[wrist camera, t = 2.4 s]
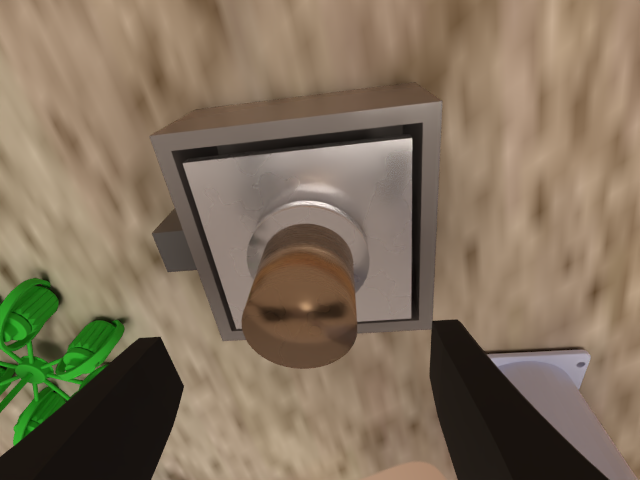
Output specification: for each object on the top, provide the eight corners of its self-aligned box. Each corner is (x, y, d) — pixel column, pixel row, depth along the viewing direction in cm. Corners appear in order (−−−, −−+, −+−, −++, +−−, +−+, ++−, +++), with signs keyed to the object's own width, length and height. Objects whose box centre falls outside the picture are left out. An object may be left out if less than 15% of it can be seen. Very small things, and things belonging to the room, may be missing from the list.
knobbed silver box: (412, 267, 21) (431, 329, 17) (220, 281, 22) (191, 342, 18) (414, 81, 16) (442, 101, 12) (165, 112, 17) (106, 140, 13)
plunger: (409, 310, 16) (433, 409, 12) (238, 321, 17) (206, 417, 13) (409, 134, 12) (446, 189, 8) (187, 158, 13) (116, 220, 9)
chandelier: (-85, 229, 21) (-252, 309, 15) (170, 298, 23) (110, 394, 17) (-38, 385, 29) (-138, 479, 23) (151, 428, 30) (105, 525, 24)
